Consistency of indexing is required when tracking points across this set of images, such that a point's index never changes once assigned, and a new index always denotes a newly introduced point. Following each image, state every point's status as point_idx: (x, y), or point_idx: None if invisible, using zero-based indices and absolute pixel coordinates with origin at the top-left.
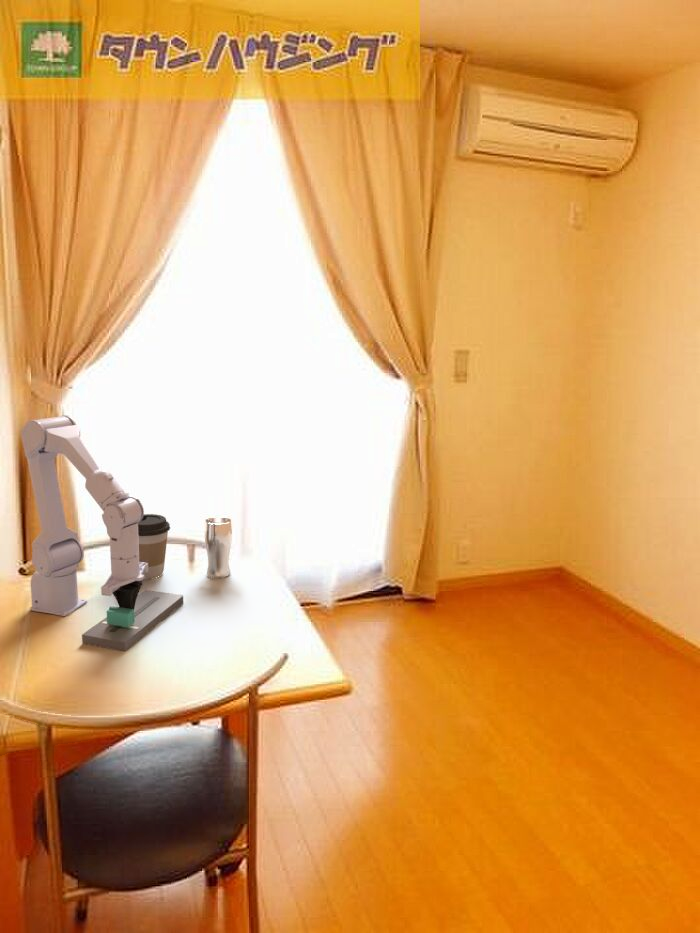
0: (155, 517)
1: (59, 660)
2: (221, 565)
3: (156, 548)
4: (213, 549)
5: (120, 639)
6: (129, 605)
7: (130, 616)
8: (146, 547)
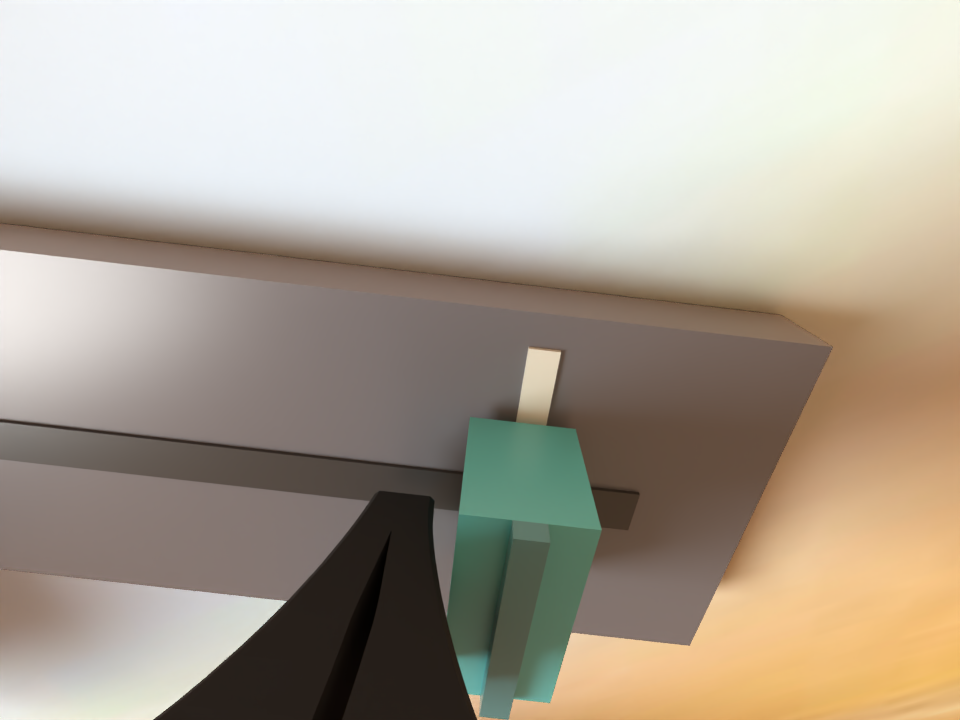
0: None
1: (870, 609)
2: None
3: None
4: None
5: (773, 403)
6: (440, 597)
7: (539, 485)
8: None
